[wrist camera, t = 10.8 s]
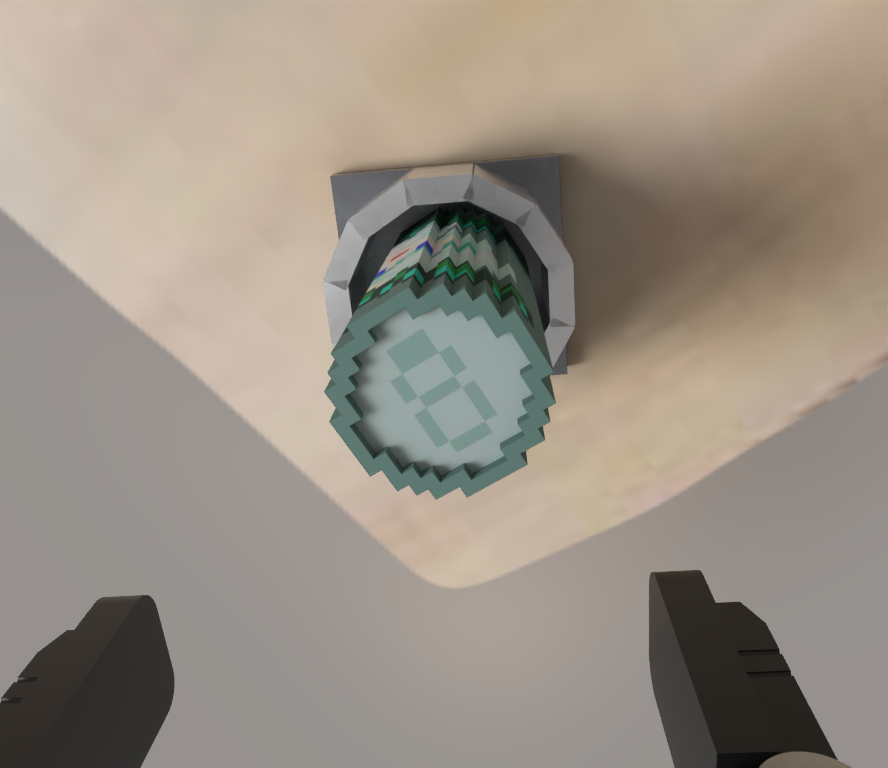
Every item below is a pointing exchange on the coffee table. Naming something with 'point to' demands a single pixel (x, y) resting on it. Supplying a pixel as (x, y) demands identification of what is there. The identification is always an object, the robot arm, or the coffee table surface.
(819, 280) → the coffee table surface
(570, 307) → the collar holder
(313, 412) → the coffee table surface
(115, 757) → the robot arm
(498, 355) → the can
